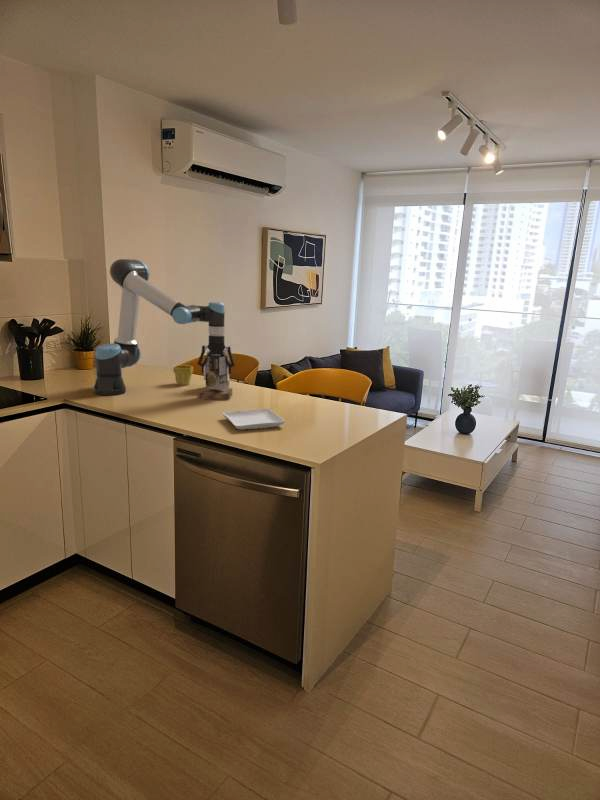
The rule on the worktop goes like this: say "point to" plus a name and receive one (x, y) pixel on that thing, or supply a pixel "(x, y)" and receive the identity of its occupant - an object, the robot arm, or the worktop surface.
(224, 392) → the walnut riser
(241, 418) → the salad plate
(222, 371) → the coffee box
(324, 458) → the worktop surface
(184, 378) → the plant pot
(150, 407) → the worktop surface
